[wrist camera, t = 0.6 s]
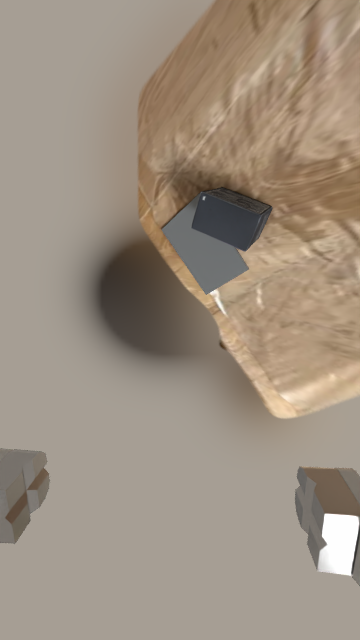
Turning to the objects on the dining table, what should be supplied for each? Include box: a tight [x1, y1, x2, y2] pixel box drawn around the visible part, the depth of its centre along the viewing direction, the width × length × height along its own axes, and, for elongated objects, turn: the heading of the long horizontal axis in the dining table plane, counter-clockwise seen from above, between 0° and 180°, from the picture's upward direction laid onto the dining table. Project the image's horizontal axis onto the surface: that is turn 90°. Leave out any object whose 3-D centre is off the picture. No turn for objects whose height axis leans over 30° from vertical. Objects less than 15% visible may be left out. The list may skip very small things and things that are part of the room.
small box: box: [191, 187, 272, 251], centre depth 46 cm, size 11×6×10 cm, turn 74°
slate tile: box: [162, 194, 249, 295], centre depth 57 cm, size 12×18×1 cm, turn 41°
